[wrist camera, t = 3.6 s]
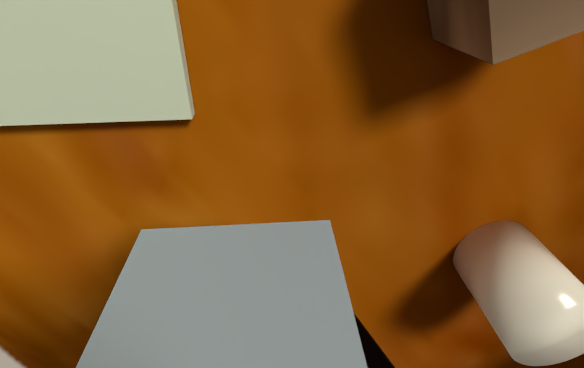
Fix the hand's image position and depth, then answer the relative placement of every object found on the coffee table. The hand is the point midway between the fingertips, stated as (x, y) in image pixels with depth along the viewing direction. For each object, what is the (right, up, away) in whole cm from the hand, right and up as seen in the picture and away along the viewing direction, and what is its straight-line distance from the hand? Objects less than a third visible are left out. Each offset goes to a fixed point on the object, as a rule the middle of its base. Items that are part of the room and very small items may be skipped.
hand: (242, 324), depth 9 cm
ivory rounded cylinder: (+12, 0, +10) cm, 15 cm away
